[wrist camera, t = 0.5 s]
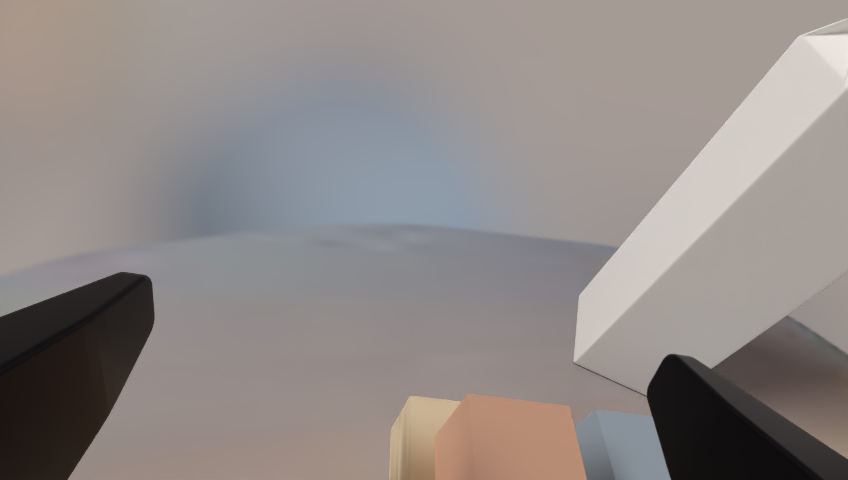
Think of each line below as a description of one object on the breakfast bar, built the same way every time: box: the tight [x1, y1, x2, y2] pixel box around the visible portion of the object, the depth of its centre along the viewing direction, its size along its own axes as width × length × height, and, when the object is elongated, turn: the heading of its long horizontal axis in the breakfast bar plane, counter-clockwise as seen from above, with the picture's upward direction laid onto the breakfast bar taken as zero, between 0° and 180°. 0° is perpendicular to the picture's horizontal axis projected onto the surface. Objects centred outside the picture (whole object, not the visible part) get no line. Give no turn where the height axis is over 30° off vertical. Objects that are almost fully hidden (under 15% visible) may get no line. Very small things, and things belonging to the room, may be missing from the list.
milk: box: [574, 18, 848, 396], centre depth 23 cm, size 6×6×22 cm
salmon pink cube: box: [434, 393, 587, 480], centre depth 17 cm, size 4×4×4 cm
